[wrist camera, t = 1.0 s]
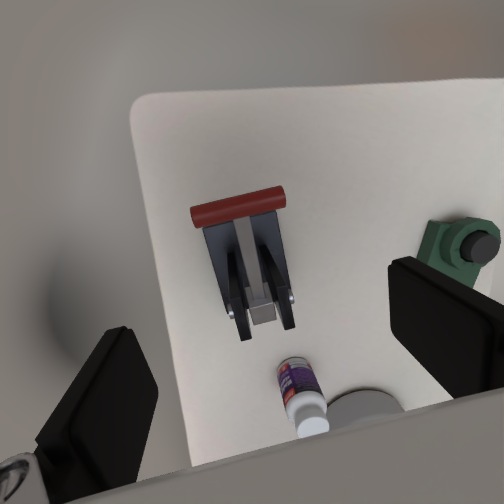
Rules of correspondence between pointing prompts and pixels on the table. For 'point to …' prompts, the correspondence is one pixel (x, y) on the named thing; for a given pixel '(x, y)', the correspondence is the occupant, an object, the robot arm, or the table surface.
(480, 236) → the button
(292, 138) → the table surface
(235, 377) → the table surface
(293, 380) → the pill bottle
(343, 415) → the thick torus
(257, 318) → the lever
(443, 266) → the button box
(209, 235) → the bracket
